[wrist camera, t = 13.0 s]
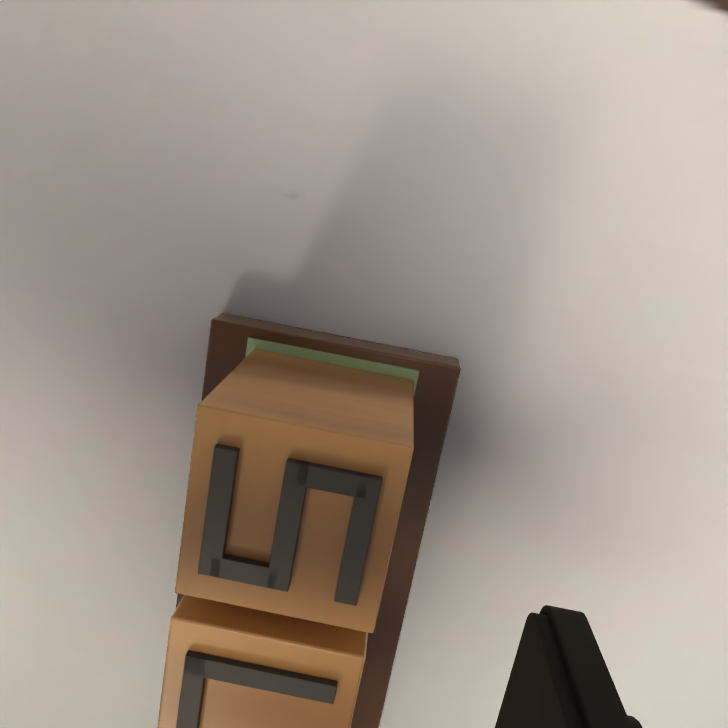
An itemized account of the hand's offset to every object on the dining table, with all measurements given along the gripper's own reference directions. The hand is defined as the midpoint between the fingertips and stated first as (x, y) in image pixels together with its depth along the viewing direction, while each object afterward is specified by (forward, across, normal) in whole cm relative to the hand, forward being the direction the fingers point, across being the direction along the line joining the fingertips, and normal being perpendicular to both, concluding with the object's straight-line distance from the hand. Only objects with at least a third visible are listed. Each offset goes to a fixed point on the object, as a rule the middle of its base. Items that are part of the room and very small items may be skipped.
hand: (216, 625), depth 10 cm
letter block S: (+9, -1, 0) cm, 9 cm away
